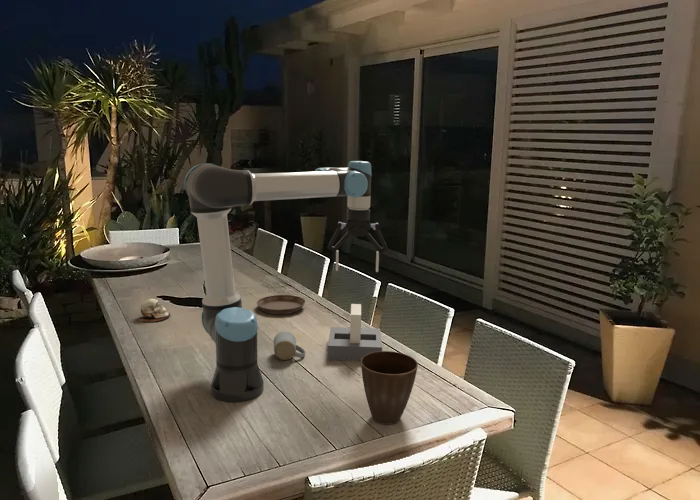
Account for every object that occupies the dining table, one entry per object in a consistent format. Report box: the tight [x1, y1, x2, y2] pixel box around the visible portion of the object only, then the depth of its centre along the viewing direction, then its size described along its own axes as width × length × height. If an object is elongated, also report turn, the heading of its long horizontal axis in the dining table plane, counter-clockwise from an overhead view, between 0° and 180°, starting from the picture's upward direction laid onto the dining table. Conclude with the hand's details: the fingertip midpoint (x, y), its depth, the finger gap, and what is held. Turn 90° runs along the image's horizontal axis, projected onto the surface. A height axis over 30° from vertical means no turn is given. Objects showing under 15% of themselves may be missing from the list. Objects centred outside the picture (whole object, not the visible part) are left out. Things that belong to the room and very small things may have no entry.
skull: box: [138, 298, 171, 323], centre depth 220 cm, size 12×10×10 cm
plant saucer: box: [256, 294, 306, 315], centre depth 236 cm, size 21×21×3 cm
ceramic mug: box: [273, 331, 306, 361], centre depth 185 cm, size 11×8×8 cm
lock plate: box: [327, 326, 383, 362], centre depth 192 cm, size 18×18×5 cm
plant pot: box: [360, 350, 419, 425], centre depth 146 cm, size 15×15×16 cm
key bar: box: [349, 303, 362, 343], centre depth 191 cm, size 12×4×10 cm, turn 179°
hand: (356, 270), depth 187 cm, fingers open, 13 cm apart
